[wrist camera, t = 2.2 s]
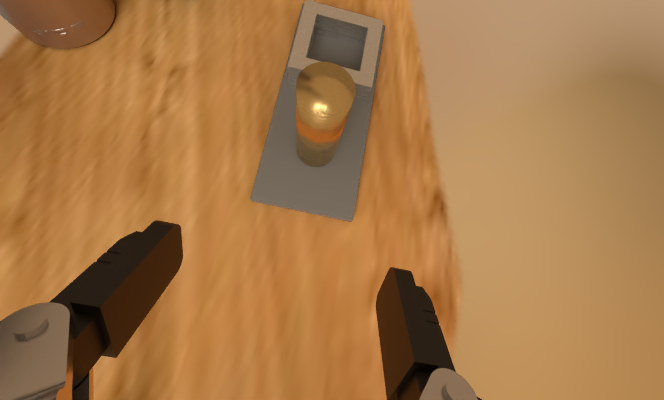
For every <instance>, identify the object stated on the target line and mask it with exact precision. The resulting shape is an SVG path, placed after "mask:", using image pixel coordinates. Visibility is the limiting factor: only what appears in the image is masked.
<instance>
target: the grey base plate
mask: <svg viewBox="0 0 664 400" xmlns="http://www.w3.org/2000/svg"><path fill="white" fill-rule="evenodd" d="M303 7H304V4H303V5H302V9H301V13H300V16H299V20H298V24H297V28H296V31H295V35H294V39H293V42H292V46H291V50H290V54H289V57H288V61H287V65H286V68H285V72H284V76H283V80H282V83H281V87H280V91H279V94H278V98H277V102H276V105H275V109H274V113H273V117H272V120H271V124H270V128H269V131H268V135H267V139H266V143H265V146H264V150H263V154H262V157H261V161H260V165H259V169H258V172H257V176H256V180H255V183H254V187H253V191H252V194H251V198H250V199H251V201H253V202H258V203H263V204H268V205H273V206H277V207H282V208H287V209H292V210H297V211H302V212H306V213H311V214H316V215H321V216H326V217H330V218H335V219H340V220H345V221H350V222H351V221H352V220H353V216H354V210H355V204H356V198H357V192H358V186H359V180H360V174H361V168H362V162H363V156H364V150H365V144H366V138H367V132H368V126H369V120H370V114H371V108H372V102H373V96H374V90H375V84H376V78H377V72H378V66H379V60H380V54H381V48H382V42H383V36H384V30H385V26H384V25H383V26H382V32H381V38H380V44H379V50H378V56H377V61H376V67H375V73H374V79H373V85H372V89H371V91H370V93H369V96H368V98H367V100H366V102H365V101H361V100H357V99H354V101H353V104H352V106H351V109H350V112H349V115H348V118H347V121H346V124H345V126H344V129H343V132H342V135H341V138H340V141H339V144H338V146H337V149H336V152H335V155H334V157H333V159H332V160H331V162H330V163H328V164H327V165H325V166H322V167H311V166H308V165H306V164H305V163H303V162H302V161H301V160H300V159H299V157H298V155H297V152H296V84H292V83H288V63H289V59H290V56H291V52H292V48H293V45H294V41H295V37H296V33H297V30H298V26H299V22H300V18H301V15H302V11H303ZM361 51H362V46H361V45H357V44H353V43H350V42H346V41H342V40H338V39H334V38H331V37H327V36H323V35H319V34H316V33H315V36H314V40H313V44H312V48H311V52H310V56H309V58H310V59H314V60H317V61H321V62H330V63H334V64H337V65H339V66H341V67H345V68H349V69H353V70H357V71H358V67H359V62H360V56H361Z"/></svg>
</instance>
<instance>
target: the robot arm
mask: <svg viewBox="0 0 664 400" xmlns="http://www.w3.org/2000/svg"><path fill="white" fill-rule="evenodd" d="M0 15H1V16H2V17H3V18H4V19H6V20H7V21H8V22H9V23H10V24H12V25H13V26H14V27H15V28H16V29H18V30H19V31H20V32H21V33H22V34H23V35H24V36H26V37H27V38H28V39H30V40H31V41H33V42H35V43H37V44H40V45H42V46H45V47H50V48H58V49H67V48H76V47H79V46H83V45H86V44H88V43H91V42H93V41H95V40H96V39H98V38H99V37H101V36H102V35H103V34H104V33H105V32H106V31H107V30H108V29H109V28H110V26H111V24H112V22H113V20H114V16H115V5H114V2H113V0H0ZM182 259H183V250H182V236H181V227H180V225H178V224H173V223H168V222H163V221H158V220H157V221H154V222H153V223H152V224H151V225H150V226H148V227H147V228H146V229H145V230H144V231H143V232H138V231H136V232H134V233H132V234H130V235H128V236H126V237H124V238H122V239H120V240H119V241H117V242H116V243H115V244H114V245H113V246H112V247H111V248H110V249H108V251H107V253H104V254H103V255H102V256H101V257H100V258H98V259H97V262H94V263H93V264H92V265H91V266H89V267H88V268H87V269H86V270H85V271H84V272H83V273H82V274H81V275H79V276H78V277H77V278H76V279H75V280H74V281H73V282H72V283H70V284H69V285H68V286H67V287H66V288H65V289H64V290H63V291H62V292H60V293H59V294H58V295H57V296H56V297H55V298H54V299H52V300H51V301H50V302H49V303H40V304H35V305H32V306H28V307H26V308H23V309H21V310H18V311H16V312H14V313H13V314H11V315H9V316H7V317H6V318H5V319H3V320H2V321H0V400H93V368H92V367H93V366H94V365H95V363H96V362H97V361H98V359H99V358H100V357H101V356H108V357H114V358H116V357H117V356H118V355H119V353H120V352H121V350H122V349H123V348H124V346H125V345H126V343H127V342H128V341H129V339H130V338H131V336H132V335H133V334H134V332H135V331H136V329H137V328H138V327H139V325H140V324H141V322H142V321H143V320H144V318H145V317H146V315H147V314H148V313H149V311H150V310H151V308H152V307H153V306H154V304H155V303H156V301H157V300H158V299H159V297H160V296H161V294H162V293H163V292H164V290H165V289H166V287H167V286H168V285H169V283H170V282H171V280H172V279H173V278H174V276H175V275H176V273H177V272H178V270H179V268H180V266H181V263H182ZM376 313H377V321H378V329H379V337H380V346H381V354H382V362H383V370H384V378H385V387H386V395H387V400H482V399H480V398H478V397H477V396H476V394H475V392H474V390H473V389H472V387H471V386H470V385H469V383H468V382H467V381H466V380H465V379H464V378H463V377H462V376H461V375H459V374H458V373H456V371H455V369H454V366H453V363H452V360H451V357H450V354H449V351H448V348H447V345H446V342H445V339H444V336H443V333H442V330H441V328H440V326H439V322H438V319H437V316H436V315H435V310H434V307H433V304H432V301H431V299H430V297H429V296H428V294H427V293H426V292H425V290H424V289H423V288H422V287H419V286H416V285H415V281H414V278H413V275H412V272H411V271H408V270H403V269H398V268H393V267H391V268H390V269H389V271H388V273H387V275H386V277H385V279H384V281H383V283H382V286H381V288H380V290H379V292H378V295H377V300H376Z"/></svg>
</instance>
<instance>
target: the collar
mask: <svg viewBox="0 0 664 400" xmlns="http://www.w3.org/2000/svg"><path fill="white" fill-rule="evenodd" d="M382 26H383V20H380V19H376V18H373V17H369V16H365V15H362V14H358V13H354V12H351V11H347V10H344V9H340V8H336V7H333V6H329V5H325V4H322V3H318V2H314V1H311V0H305V3H304V7H303V11H302V15H301V18H300V22H299V26H298V30H297V33H296V37H295V41H294V45H293V48H292V52H291V56H290V59H289V63H288V83H292V84H296V81H297V78H298V76H299V74H300V72H301V71H302V70H303V69H304V68H305V67H307V66H308V65H310V64H313V63H317V62H321V61H317V60H314V59H310V58H309V56H310V52H311V48H312V44H313V40H314V36H315V33H316V34H319V35H323V36H327V37H331V38H334V39H338V40H342V41H346V42H350V43H353V44H357V45H361V46H362V51H361V56H360V62H359V67H358V71H357V70H353V69H349V68H345V67H342V68H344V69H345V70H346V71H347V72H348V73H349V74H350V75H351V77H352V79H353V80H354V83H355V88H356V93H355V98H354V99H357V100H361V101H365V102H366V100H367V98H368V96H369V93H370V91H371V89H372V85H373V79H374V73H375V67H376V61H377V56H378V50H379V44H380V38H381V32H382Z"/></svg>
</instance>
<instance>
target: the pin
mask: <svg viewBox="0 0 664 400" xmlns="http://www.w3.org/2000/svg"><path fill="white" fill-rule="evenodd" d="M355 93H356V88H355V83H354V80H353V79H352V77H351V75H350V74H349V73H348V72H347V71H346V70H345V69H344V68H342V67H341V66H339V65H337V64H334V63H330V62H317V63H313V64H310V65H308V66H307V67H305V68H304V69H303V70H302V71H301V72H300V74H299V76H298V78H297V81H296V152H297V155H298V157H299V159H300V160H301V161H302V162H303V163H305V164H306V165H308V166H311V167H322V166H325V165H327V164H328V163H330V162H331V160H332V159H333V157H334V155H335V152H336V149H337V146H338V144H339V141H340V138H341V135H342V132H343V129H344V126H345V124H346V121H347V118H348V115H349V112H350V109H351V106H352V104H353V101H354V98H355Z"/></svg>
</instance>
